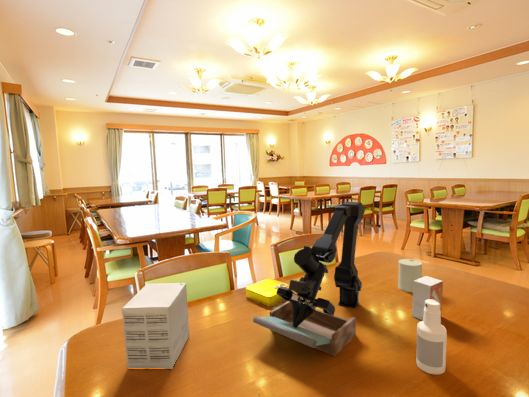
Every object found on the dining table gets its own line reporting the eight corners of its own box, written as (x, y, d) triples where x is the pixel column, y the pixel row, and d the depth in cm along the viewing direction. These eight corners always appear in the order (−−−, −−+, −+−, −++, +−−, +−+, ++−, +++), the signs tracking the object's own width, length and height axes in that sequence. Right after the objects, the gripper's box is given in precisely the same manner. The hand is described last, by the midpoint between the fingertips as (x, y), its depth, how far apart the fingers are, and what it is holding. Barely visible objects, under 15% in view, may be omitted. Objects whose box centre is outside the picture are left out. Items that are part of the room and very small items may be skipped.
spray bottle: (411, 359, 86) (412, 297, 84) (434, 357, 86) (436, 295, 84) (425, 376, 79) (427, 308, 77) (451, 374, 79) (454, 307, 77)
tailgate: (273, 315, 103) (253, 316, 95) (330, 337, 89) (313, 340, 81) (272, 321, 102) (252, 322, 95) (329, 344, 88) (311, 348, 81)
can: (422, 286, 134) (423, 259, 133) (420, 294, 126) (421, 265, 125) (399, 282, 139) (400, 256, 138) (396, 290, 131) (396, 262, 130)
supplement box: (150, 335, 102) (146, 282, 100) (190, 335, 102) (187, 282, 100) (125, 371, 85) (119, 307, 83) (173, 370, 85) (169, 307, 82)
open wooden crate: (293, 313, 114) (293, 297, 113) (355, 335, 98) (355, 317, 98) (270, 328, 104) (269, 311, 103) (334, 356, 88) (334, 336, 88)
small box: (429, 323, 104) (430, 286, 102) (411, 316, 109) (412, 280, 108) (442, 316, 108) (443, 280, 107) (424, 309, 114) (425, 275, 112)
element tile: (268, 286, 141) (268, 276, 140) (294, 295, 130) (294, 284, 130) (244, 297, 130) (243, 286, 129) (270, 308, 120) (270, 296, 119)
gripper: (277, 262, 101) (257, 308, 94) (329, 274, 89) (309, 328, 82) (293, 277, 108) (275, 320, 101) (342, 290, 96) (325, 341, 89)
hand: (294, 327), depth 93 cm, fingers closed, pressing on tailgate
